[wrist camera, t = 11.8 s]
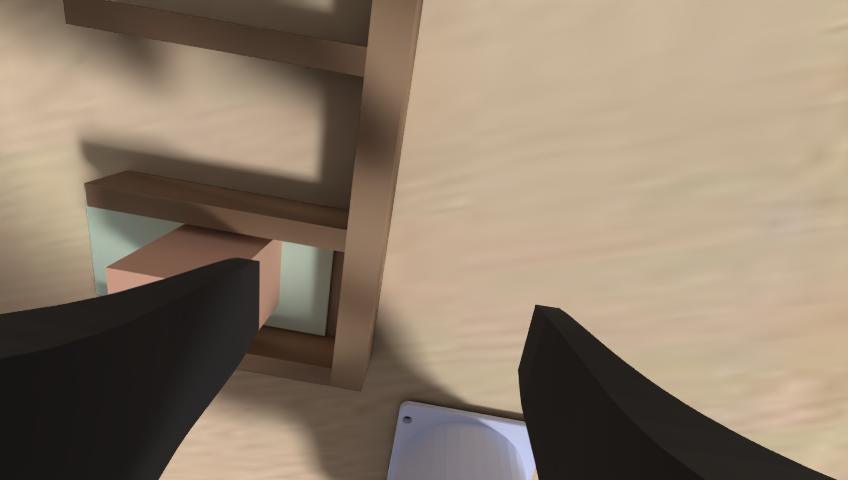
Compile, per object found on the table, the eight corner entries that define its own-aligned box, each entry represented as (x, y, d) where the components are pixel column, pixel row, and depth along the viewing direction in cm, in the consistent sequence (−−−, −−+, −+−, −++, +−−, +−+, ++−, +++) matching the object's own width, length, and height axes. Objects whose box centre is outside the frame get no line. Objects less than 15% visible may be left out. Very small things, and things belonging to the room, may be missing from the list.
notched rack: (370, 359, 23) (361, 391, 21) (101, 311, 23) (62, 337, 21) (446, -156, 15) (444, -197, 13) (39, -228, 15) (-34, -283, 13)
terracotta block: (278, 304, 22) (219, 381, 17) (200, 289, 22) (115, 362, 17) (283, 230, 21) (219, 288, 15) (199, 215, 21) (105, 267, 15)
